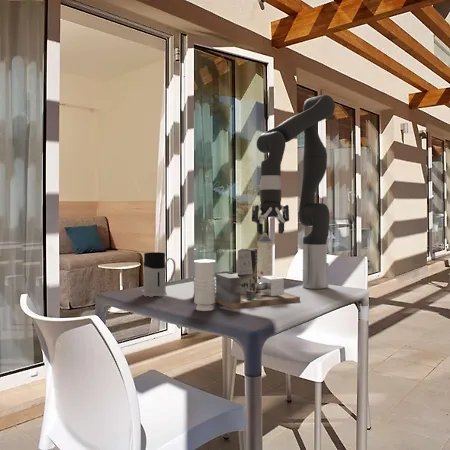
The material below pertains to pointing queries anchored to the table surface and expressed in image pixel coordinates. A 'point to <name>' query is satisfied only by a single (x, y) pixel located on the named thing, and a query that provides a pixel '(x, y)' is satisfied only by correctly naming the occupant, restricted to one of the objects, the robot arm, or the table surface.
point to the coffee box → (247, 269)
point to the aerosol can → (264, 256)
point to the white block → (271, 285)
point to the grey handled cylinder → (155, 274)
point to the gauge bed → (232, 298)
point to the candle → (204, 284)
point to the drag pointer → (250, 293)
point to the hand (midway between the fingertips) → (270, 233)
